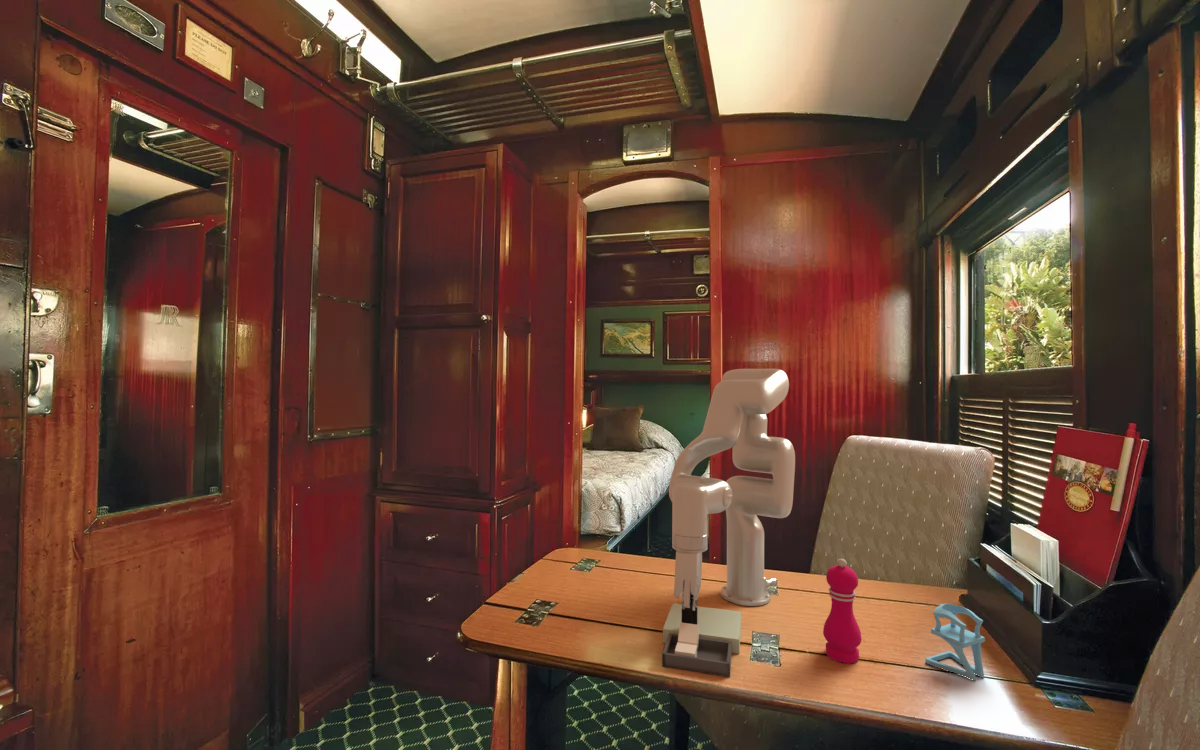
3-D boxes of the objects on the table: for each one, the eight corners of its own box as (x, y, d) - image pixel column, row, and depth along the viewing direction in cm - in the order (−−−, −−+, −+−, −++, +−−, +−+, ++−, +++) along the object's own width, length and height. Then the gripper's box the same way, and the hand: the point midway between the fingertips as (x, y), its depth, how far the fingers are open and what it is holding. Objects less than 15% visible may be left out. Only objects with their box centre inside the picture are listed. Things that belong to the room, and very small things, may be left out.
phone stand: (966, 684, 100) (967, 620, 100) (924, 662, 107) (924, 603, 107) (992, 675, 103) (992, 613, 103) (949, 655, 110) (949, 597, 110)
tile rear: (680, 627, 114) (680, 622, 113) (699, 629, 113) (699, 624, 112) (678, 645, 111) (677, 640, 110) (698, 648, 110) (697, 643, 108)
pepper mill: (859, 669, 105) (859, 567, 105) (820, 658, 108) (820, 560, 109) (863, 653, 111) (863, 557, 111) (826, 644, 114) (826, 551, 115)
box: (669, 645, 114) (669, 633, 114) (731, 654, 110) (731, 642, 110) (662, 666, 105) (662, 653, 105) (729, 677, 101) (729, 664, 101)
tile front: (674, 650, 106) (674, 661, 106) (695, 653, 105) (694, 664, 105) (677, 641, 110) (677, 651, 110) (697, 644, 109) (697, 654, 109)
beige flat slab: (672, 615, 128) (672, 603, 128) (741, 624, 123) (741, 611, 123) (662, 642, 114) (662, 628, 115) (739, 654, 110) (739, 639, 110)
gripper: (677, 530, 122) (677, 610, 122) (666, 549, 108) (666, 640, 108) (710, 533, 120) (710, 614, 120) (704, 553, 106) (703, 645, 106)
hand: (689, 626), depth 114 cm, fingers closed
